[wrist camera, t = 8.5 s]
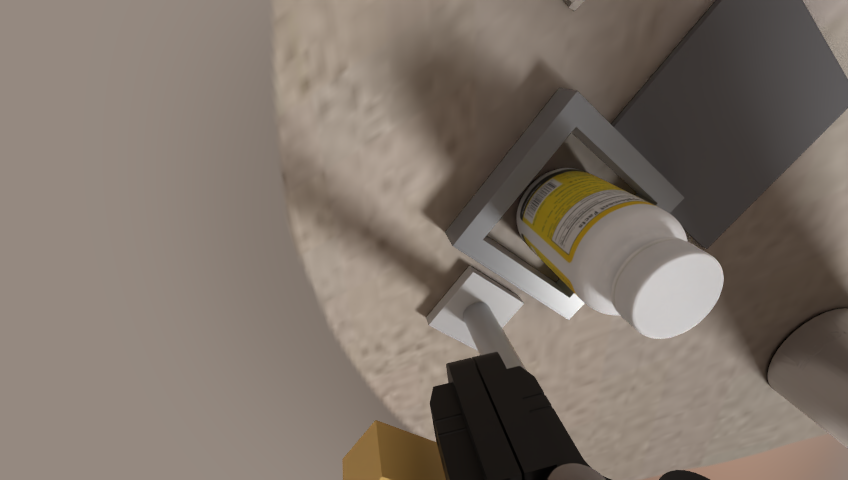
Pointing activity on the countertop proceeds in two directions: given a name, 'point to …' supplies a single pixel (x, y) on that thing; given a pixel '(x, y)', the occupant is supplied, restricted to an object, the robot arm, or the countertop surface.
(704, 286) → the supplement bottle
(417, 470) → the yellow lever
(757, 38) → the mat
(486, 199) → the socket
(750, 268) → the countertop surface
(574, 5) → the skyscraper
